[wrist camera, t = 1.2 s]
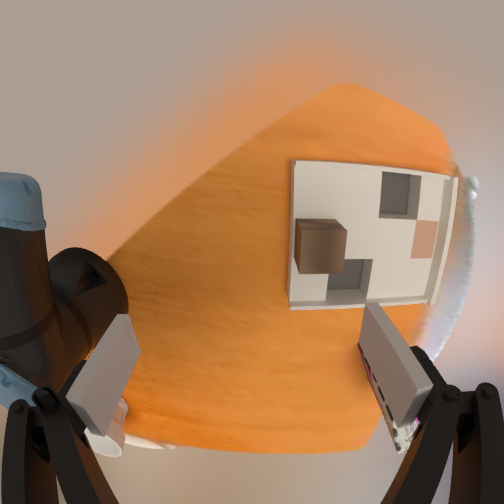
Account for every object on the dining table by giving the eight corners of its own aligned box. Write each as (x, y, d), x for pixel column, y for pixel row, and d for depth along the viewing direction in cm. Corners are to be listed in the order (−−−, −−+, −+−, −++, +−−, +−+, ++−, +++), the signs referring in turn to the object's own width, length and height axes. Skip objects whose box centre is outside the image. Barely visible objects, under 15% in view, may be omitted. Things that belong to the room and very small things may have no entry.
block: (293, 257, 32) (299, 274, 28) (295, 218, 31) (301, 230, 26) (332, 257, 32) (342, 273, 28) (335, 219, 30) (347, 230, 26)
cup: (74, 380, 46) (51, 417, 36) (115, 378, 45) (93, 421, 34) (106, 418, 50) (90, 454, 40) (148, 418, 49) (134, 459, 38)
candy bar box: (394, 371, 43) (427, 441, 27) (369, 383, 44) (396, 456, 28) (385, 328, 39) (429, 406, 24) (356, 342, 40) (390, 425, 25)
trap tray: (286, 293, 37) (290, 313, 32) (291, 159, 31) (297, 161, 26) (418, 288, 37) (434, 305, 32) (436, 172, 31) (458, 177, 26)
